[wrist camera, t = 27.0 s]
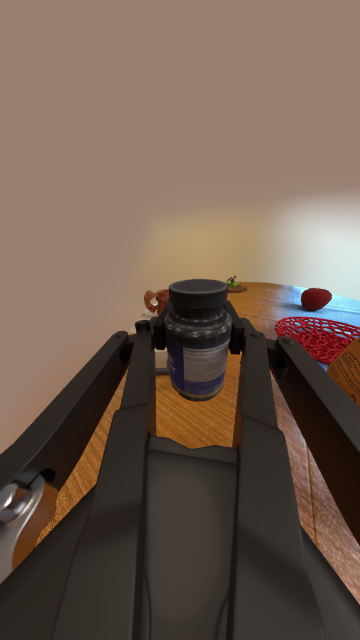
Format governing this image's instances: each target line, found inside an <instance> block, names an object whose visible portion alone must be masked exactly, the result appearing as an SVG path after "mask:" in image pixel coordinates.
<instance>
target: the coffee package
mask: <svg viewBox="0 0 360 640" xmlns="http://www.w3.org/2000/svg"><path fill="white" fill-rule="evenodd" d="M326 372H327V373H328V374H329V375H330V377H331V378H332V379H333V380H334V381H335V382H336V383H337V384H338V385H339V386H340V387H341V388H342V389H343V390H344V391H345V393H346V394H347V395H348V396H349V397H350V398H351V399H352V400H353V401H354V402H355V403H356V404H357V405H358V406H359V407H360V336H359V337H358V338H357V339H355V340H353V341H352V342H351V343H350V344H349V345H348V346H347V347H346V348H345V350H344V351H343V352H342V353H341V354H340V355H339V356H338V357H337V358H336V359H335V360H334V361H333V362H332V363H331V364H330V365H329V367H328V369H327V371H326Z"/></svg>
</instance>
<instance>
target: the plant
mask: <svg viewBox="0 0 360 640" xmlns="http://www.w3.org/2000/svg"><path fill="white" fill-rule="evenodd" d="M234 278H237V276H234ZM234 278H233V279H232V278H229V279H228V280H227V281H229V280H230V282H228V284H227V285H228V292H229V293H238V292H243V291H246V289H247V288H246V287H245V286H243V285H238V283H240V282H238V283H236V282H235V281H234ZM231 279H232V280H231Z"/></svg>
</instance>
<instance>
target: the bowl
mask: <svg viewBox="0 0 360 640" xmlns="http://www.w3.org/2000/svg"><path fill="white" fill-rule="evenodd" d="M296 318H297V319H299V320H297V319H296ZM300 318H304V319H300ZM287 319H290V321H286V320H287ZM291 319H294V320H295V321H293V320H291ZM309 319H313V321H310V320H309ZM283 320H284V321H283ZM304 320H308V322H307V321H304ZM315 320H319V322H316V321H315ZM281 321H282V324H281V323H280V322H281ZM322 321H327V322H328V323H325V322H322ZM285 322H286V323H289V324H290V326H286V325H285ZM290 322H293V323H290ZM295 322H298V323H300V324H301V326H297V325H295V324H294V323H295ZM302 322H304V323H302ZM309 322H311V323H313V324H308V323H309ZM330 322H333V323H330ZM278 323H279V325H280V326H278V325H277V324H278ZM315 323H318V324H319V325H321V326H318V325H315ZM336 323H337V324H336ZM323 324H328V325H329V326H322V325H323ZM338 324H341V325H345V326H340V325H338ZM283 325H284V326H283ZM291 325H293V326H295V328H293V327H291ZM303 325H306V326H303ZM331 325H335V326H337V327H333V326H331ZM276 326H277V327H278V328H276ZM309 326H311V327H314V328H311V327H309ZM347 326H349V327H352V328H356V329H352V328H349V327H347ZM281 327H282V328H281ZM316 327H317V328H320V329H317V328H316ZM288 328H291V329H292V330H289V329H288ZM296 328H302V329H303V331H304V332H303V331H298V330H296ZM305 328H307V329H309V330H311V331H309V330H306V329H305ZM323 328H327V329H330V330H332V331H333V332H332V333H331V332H328V331H325V330H323ZM342 328H345V329H342ZM280 329H281V330H280ZM334 329H339V330H341V331H342V332H339V331H336V330H334ZM347 329H348V330H347ZM358 329H359V330H360V327H357V326H353V325H350V324H346V323H342V322H337V321H333V320H327V319H321V318H314V317H288V318H283V319H281V320H279V321H278V322H277V323H276V325H275V331H276V333H277V335H278V336H286V334H287V335H289V336H287V337H291V338H293V339H295V340H296V341H298V342H299V343H300V345H301V346H302V347H303V348H304V349H305V350H306V351H307V352H308V353H309V354H310V355H311V356H312V357H313V358H314V359H315V360H316V361H319V362H322V363H324V364H327V365H330V364H331V363H332V362H333V361H334V360H335V359H336V358H337V357H338V356H339V355H340V354H341V353H342V352H343V351H344V350H345V348H346V347H347V346H348V345H349V344H350V343H351V342H352V341H353V340H355V339H356V338H354V337H352V336H360V332H359V331H357V330H358ZM277 330H278V332H277ZM286 330H287V331H288V332H290V333H288V332H286ZM283 331H284V332H283ZM293 331H295V332H296V333H298V334H294V333H293ZM317 331H318V332H321V333H318V332H317ZM344 331H346V332H350V333H351V334H352V335H348V334H346V333H344ZM353 331H354V332H356V333H358V334H356V333H354V332H353ZM280 332H281V333H280ZM305 332H306V333H305ZM307 333H308V334H307ZM314 333H315V334H314ZM335 333H336V334H342V335H344V336H346V337H348V338H344V337H340V336H337V335H335ZM279 334H280V335H279ZM312 337H313V338H314V339H313V338H312ZM306 338H307V339H306ZM350 339H351V340H350ZM341 340H342V341H341Z"/></svg>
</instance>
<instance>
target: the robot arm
mask: <svg viewBox="0 0 360 640" xmlns="http://www.w3.org/2000/svg"><path fill="white" fill-rule="evenodd" d="M172 308H173V305H172V304H171V303H170V301H168V302H167V304H166V306H165V307H164V309H163V310H162V312H161V313H160V315H159V317H153V318H151V319H150V321H148V320H140V321H138V322H136V323H135V328H136V334H133V335H128V333H127V332H126V331H119V332H117V333H115V334H113V335H112V336H111V338H110V339H109V340H108V341H107V342H106V343H105V344H104V345H103V346H102V348H101V349H100V350H99V351H98V352H97V353H96V354H95V355H94V356H93V357H92V358H91V359H90V360H89V362H88V363H87V364H86V365H85V366H84V367H83V368H82V369H81V370H80V371H79V373H78V374H77V375H76V376H75V377H74V378H73V379H72V380H71V381H70V382H69V383H68V385H67V386H66V387H65V388H64V389H63V390H62V391H61V392H60V393H59V394H58V395H57V397H56V398H55V399H54V400H53V401H52V402H51V403H50V404H49V405H48V406H47V408H46V409H45V410H44V411H43V412H42V413H41V414H40V415H39V416H38V417H37V418H36V419H35V421H34V422H33V423H32V424H31V425H30V426H29V427H28V428H27V429H26V430H25V432H24V433H23V434H22V435H21V436H20V437H19V438H18V439H17V440H16V441H15V442H14V444H12V445H11V446H10V447H9V448H8V449H6V450H5V451H4V452H3V453H2V454H0V640H360V604H359V603H358V602H357V600H356V599H355V598H354V596H353V595H352V594H351V592H350V591H349V590H348V588H347V587H346V586H345V584H344V583H343V581H342V580H341V579H340V577H339V576H338V575H337V573H336V572H335V571H334V569H333V568H332V567H331V565H330V564H329V563H328V561H327V560H326V558H325V557H324V556H323V554H322V553H321V552H320V550H319V549H318V548H317V546H316V545H315V544H314V542H313V541H312V540H311V538H310V537H309V535H308V534H307V533H306V531H305V530H304V529H303V527H302V526H301V525H300V520H299V514H298V508H297V503H296V497H295V491H294V485H293V480H292V474H291V468H290V462H289V456H288V451H287V445H286V440H285V436H284V434H283V432H282V431H280V430H279V428H278V425H277V418H276V411H275V404H274V397H273V389H272V382H271V375H270V370H271V372H272V374H273V376H274V378H275V380H276V382H277V384H278V386H279V388H280V390H281V392H282V394H283V396H284V398H285V400H286V403H287V405H288V407H289V409H290V411H291V413H292V415H293V417H294V419H295V421H296V423H297V425H298V427H299V429H300V431H301V433H302V435H303V437H304V439H305V441H306V443H307V445H308V447H309V449H310V451H311V454H312V456H313V458H314V460H315V462H316V464H317V466H318V468H319V470H320V472H321V474H322V476H323V478H324V480H325V482H326V484H327V486H328V488H329V490H330V492H331V494H332V496H333V498H334V500H335V503H336V504H337V506H338V508H339V510H340V512H341V514H342V516H343V518H344V520H345V522H346V523H347V525H348V527H349V529H350V531H351V532H352V534H353V536H354V537H355V539H356V541H357V542H358V544H359V546H360V407H359V406H358V405H357V404H356V403H355V402H354V401H353V400H352V399H351V398H350V397H349V396H348V395H347V394H346V393H345V391H344V390H343V389H342V388H341V387H340V386H339V385H338V384H337V383H336V382H335V381H334V380H333V379H332V378H331V377H330V375H329V374H328V373H327V372H326V371H325V370H324V369H323V368H322V367H321V366H320V365H319V364H318V363H317V362H316V361H315V359H314V358H313V357H312V356H311V355H310V354H309V353H308V352H307V351H306V350H305V349H304V348H303V347H302V346H301V345H300V343H299V342H298V341H296V340H295V339H293V338H291V337H287V336H279V337H277V340H271V339H267V338H265V336H264V334H262V333H261V332H258V331H256V330H255V328H254V327H253V326H252V324H251V323H250V321H249V320H248V319H246V318H239V316H238V315H237V313H236V311H235V309H234V308H233V306H232V304H231V302H230V301H226V303H225V304H224V305H223V309H225V310H226V311H227V312H228V313H229V314H230V316H231V319H232V331H231V338H230V344H229V349H230V353H231V354H237V355H240V351H242V357H241V361H240V364H241V366H240V376H239V386H238V396H237V406H236V416H235V426H234V436H233V444H232V448H230V447H224V446H217V445H212V446H207V447H201V448H196V449H189V448H187V447H185V446H183V445H181V444H179V443H177V442H175V441H174V440H172V439H170V438H164V437H158V436H157V435H156V384H155V347H156V349H157V350H165V347H166V337H165V329H164V319H165V316H166V315H167V313H168V312H169V311H170V310H171V309H172ZM128 367H129V369H128ZM127 369H128V374H127V378H126V383H125V387H124V392H123V396H122V401H121V406H120V408H119V410H116V411H115V413H114V415H113V418H112V422H111V426H110V430H109V434H108V438H107V442H106V446H105V450H104V454H103V458H102V462H101V466H100V470H99V474H98V478H97V482H96V484H95V485H94V486H93V487H92V488H91V490H90V491H89V492H88V493H87V494H86V495H85V496H84V497H83V498H82V499H81V500H80V501H79V502H78V503H77V504H76V505H75V506H74V507H73V508H72V509H71V510H70V512H69V513H68V514H67V515H66V516H65V517H64V518H63V519H62V520H61V521H60V522H59V523H58V524H57V525H56V526H55V527H54V528H53V529H52V530H51V531H50V532H49V534H48V535H47V536H46V537H45V538H44V539H43V540H42V541H41V542H40V543H39V544H38V545H37V546H36V547H35V545H36V542H37V540H38V537H39V535H40V532H41V530H43V529H44V528H45V527H46V526H47V525H48V524H49V523H50V521H51V520H52V518H53V516H54V514H55V511H56V500H57V496H58V492H59V491H60V489H61V488H62V486H63V485H64V483H65V482H66V480H67V479H68V477H69V476H70V474H71V473H72V471H73V469H74V468H75V466H76V464H77V462H78V461H79V459H80V457H81V455H82V454H83V452H84V450H85V448H86V446H87V444H88V442H89V440H90V438H91V437H92V435H93V433H94V431H95V429H96V427H97V425H98V423H99V421H100V420H101V418H102V416H103V414H104V412H105V410H106V408H107V406H108V404H109V403H110V401H111V399H112V397H113V395H114V393H115V391H116V389H117V387H118V386H119V384H120V382H121V380H122V378H123V376H124V374H125V372H126V370H127Z"/></svg>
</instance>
